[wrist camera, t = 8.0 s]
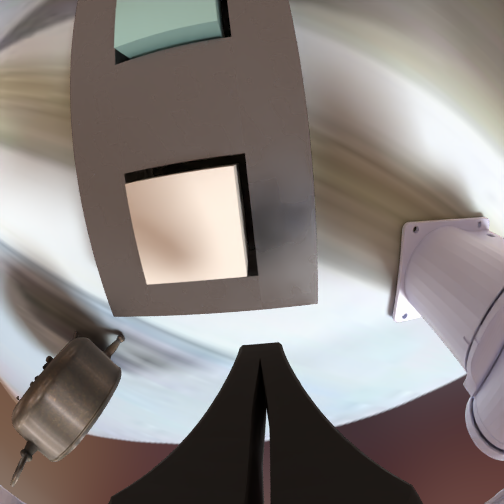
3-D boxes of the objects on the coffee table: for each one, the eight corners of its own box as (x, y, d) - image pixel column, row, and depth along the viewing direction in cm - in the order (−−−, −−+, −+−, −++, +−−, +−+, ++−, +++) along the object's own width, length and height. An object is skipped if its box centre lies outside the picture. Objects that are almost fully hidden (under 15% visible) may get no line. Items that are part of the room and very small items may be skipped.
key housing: (269, -29, 11) (272, -61, 7) (305, 273, 18) (317, 303, 14) (106, 7, 11) (80, -14, 8) (136, 287, 19) (113, 316, 15)
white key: (238, 163, 15) (233, 166, 11) (248, 248, 16) (246, 276, 13) (154, 176, 15) (125, 184, 11) (168, 256, 17) (147, 284, 13)
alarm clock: (92, 384, 23) (33, 502, 8) (54, 350, 22) (-21, 459, 6) (144, 342, 20) (67, 519, 5) (96, 297, 19) (-24, 453, 4)
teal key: (219, -10, 11) (210, -44, 7) (225, 50, 12) (217, 20, 9) (143, 8, 11) (118, -19, 7) (143, 67, 13) (113, 48, 9)
